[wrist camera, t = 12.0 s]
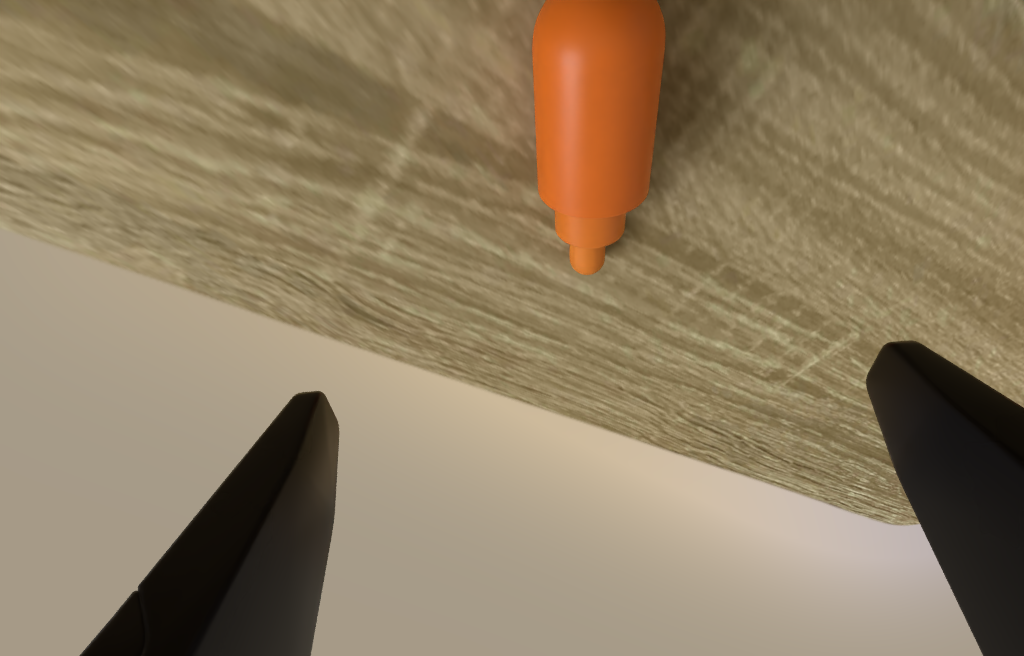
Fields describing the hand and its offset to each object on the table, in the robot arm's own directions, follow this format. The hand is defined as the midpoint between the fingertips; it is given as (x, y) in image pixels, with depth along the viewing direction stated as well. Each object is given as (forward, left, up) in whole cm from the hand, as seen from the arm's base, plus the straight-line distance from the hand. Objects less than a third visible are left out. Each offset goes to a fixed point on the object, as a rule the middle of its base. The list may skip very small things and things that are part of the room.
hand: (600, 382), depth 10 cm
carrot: (-1, +1, -10) cm, 10 cm away
